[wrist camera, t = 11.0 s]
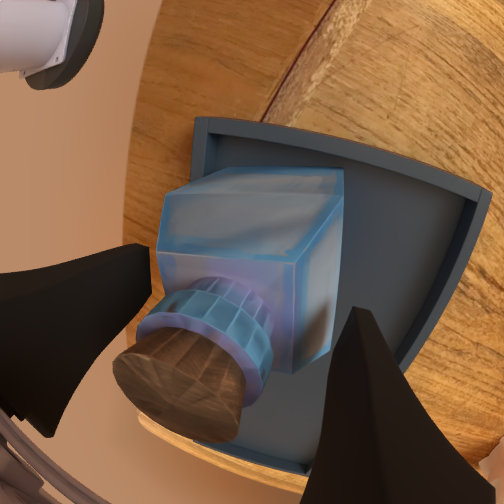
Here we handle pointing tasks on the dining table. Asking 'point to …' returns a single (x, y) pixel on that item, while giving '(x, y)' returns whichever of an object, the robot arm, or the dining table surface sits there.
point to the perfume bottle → (236, 294)
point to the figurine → (495, 470)
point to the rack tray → (352, 264)
